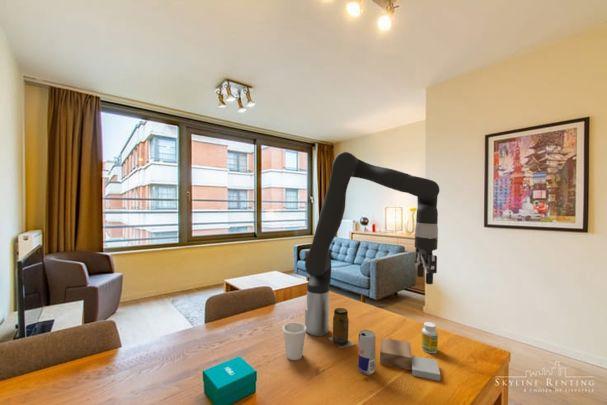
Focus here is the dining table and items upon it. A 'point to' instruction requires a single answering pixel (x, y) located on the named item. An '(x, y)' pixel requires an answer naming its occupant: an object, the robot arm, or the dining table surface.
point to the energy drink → (366, 352)
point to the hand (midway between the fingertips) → (424, 280)
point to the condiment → (340, 328)
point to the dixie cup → (294, 340)
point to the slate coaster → (425, 368)
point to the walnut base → (396, 353)
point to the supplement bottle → (429, 338)
